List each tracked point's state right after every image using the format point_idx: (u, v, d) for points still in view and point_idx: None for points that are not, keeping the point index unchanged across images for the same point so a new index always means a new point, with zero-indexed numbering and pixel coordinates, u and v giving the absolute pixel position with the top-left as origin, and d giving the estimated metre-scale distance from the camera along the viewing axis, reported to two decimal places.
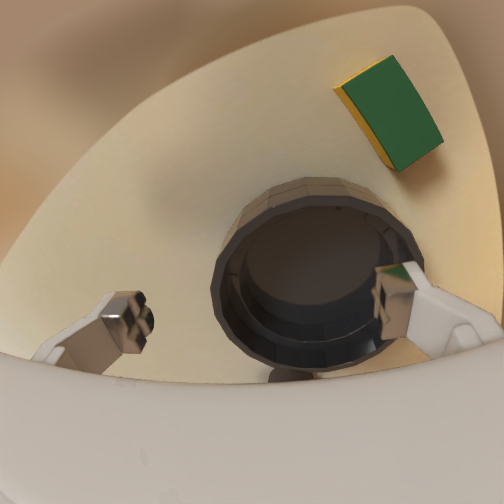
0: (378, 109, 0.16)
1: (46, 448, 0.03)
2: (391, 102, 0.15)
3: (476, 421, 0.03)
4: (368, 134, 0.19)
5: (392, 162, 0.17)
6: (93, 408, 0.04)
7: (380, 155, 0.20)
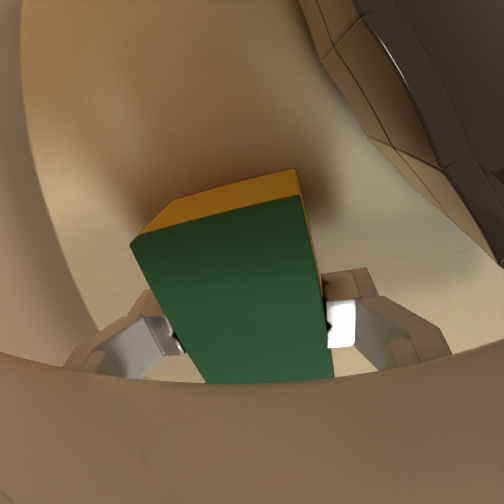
0: (291, 350, 0.08)
1: (46, 448, 0.03)
2: (256, 353, 0.09)
3: (476, 421, 0.03)
4: (315, 259, 0.09)
5: None
6: (93, 408, 0.04)
7: (302, 198, 0.09)
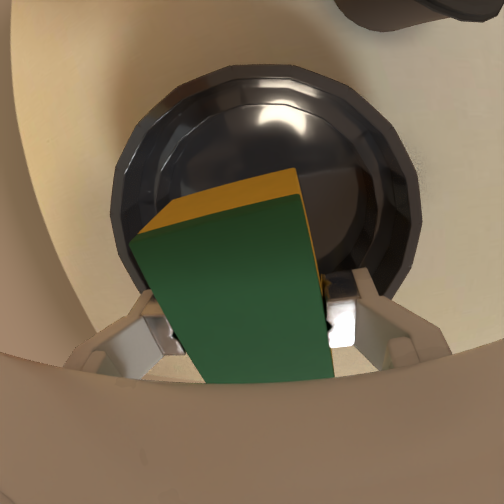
0: (291, 350, 0.08)
1: (46, 448, 0.03)
2: (255, 353, 0.09)
3: (476, 421, 0.03)
4: (315, 258, 0.09)
5: None
6: (93, 408, 0.04)
7: (302, 197, 0.09)
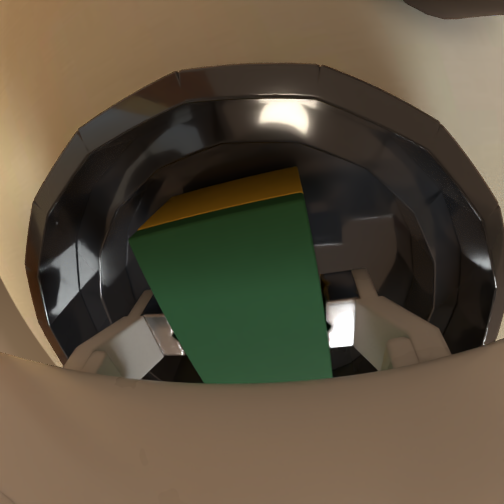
0: (290, 350, 0.08)
1: (46, 449, 0.03)
2: (254, 353, 0.08)
3: (476, 421, 0.03)
4: None
5: (309, 229, 0.07)
6: (93, 408, 0.04)
7: None
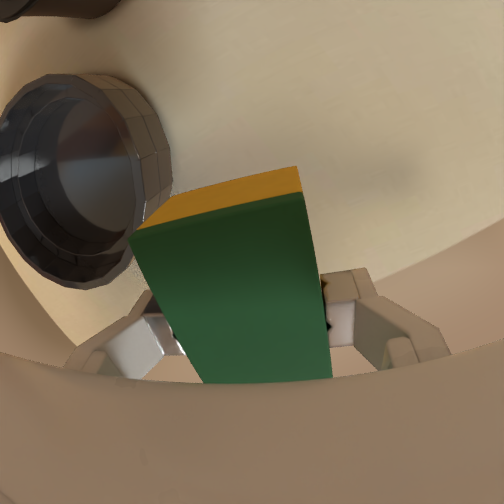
0: (290, 350, 0.08)
1: (46, 449, 0.03)
2: (254, 353, 0.08)
3: (476, 421, 0.03)
4: None
5: None
6: (93, 408, 0.04)
7: None
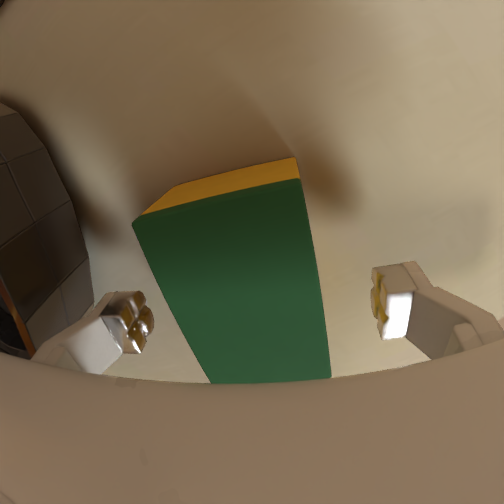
0: (288, 334, 0.09)
1: (46, 449, 0.03)
2: (252, 337, 0.09)
3: (476, 421, 0.03)
4: None
5: None
6: (93, 408, 0.04)
7: None
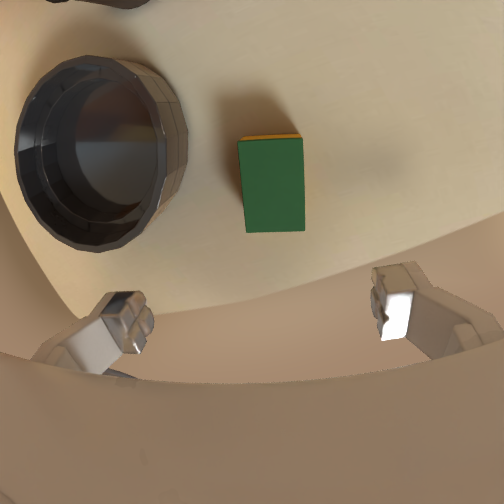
0: (288, 199, 0.21)
1: (46, 448, 0.03)
2: (273, 199, 0.21)
3: (476, 421, 0.03)
4: None
5: (302, 149, 0.19)
6: (93, 408, 0.04)
7: None
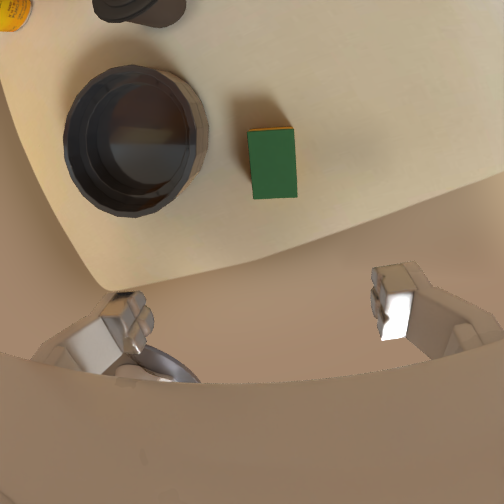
0: (284, 173, 0.28)
1: (46, 448, 0.03)
2: (273, 173, 0.28)
3: (476, 421, 0.03)
4: None
5: None
6: (93, 408, 0.04)
7: None
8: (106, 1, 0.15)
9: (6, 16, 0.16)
